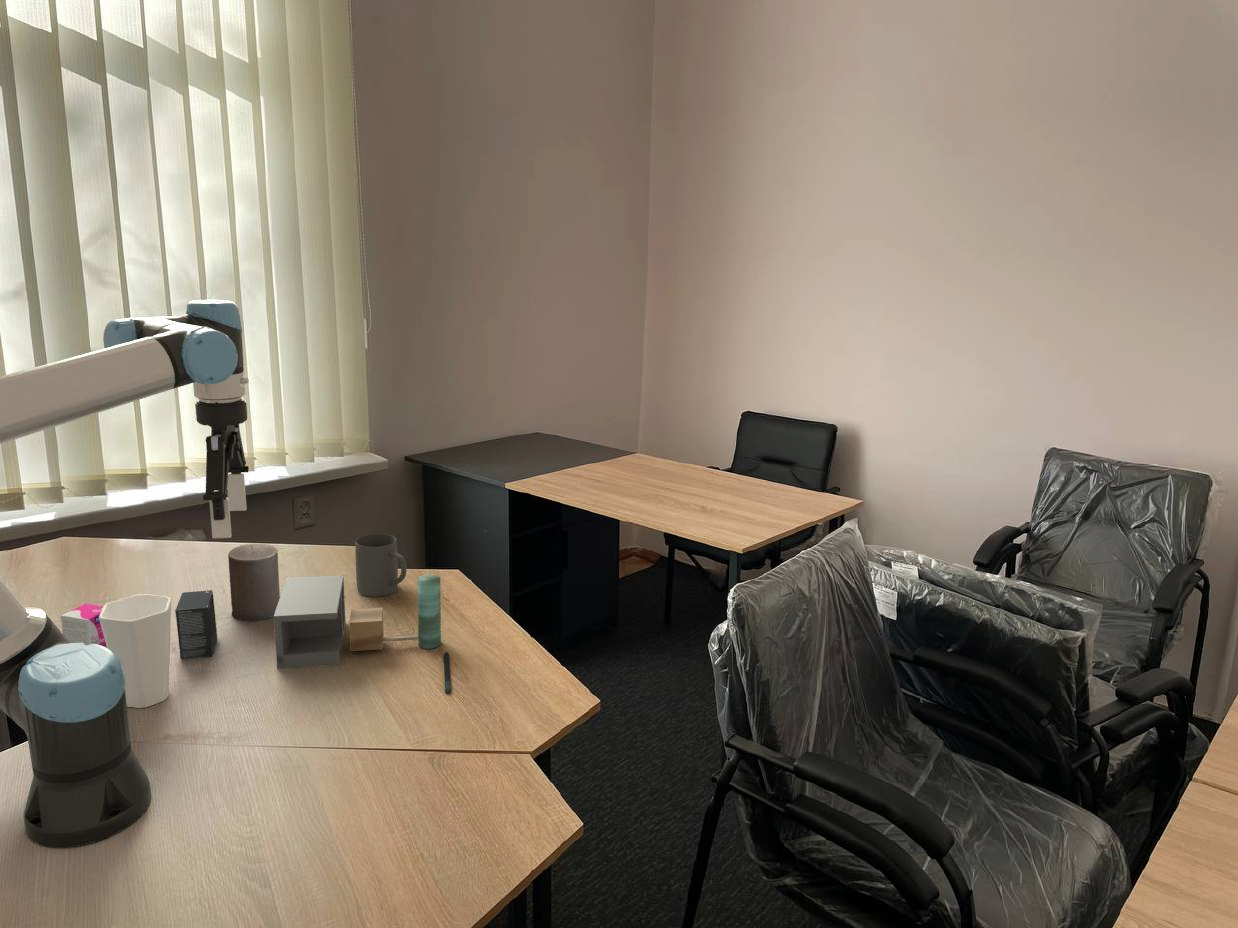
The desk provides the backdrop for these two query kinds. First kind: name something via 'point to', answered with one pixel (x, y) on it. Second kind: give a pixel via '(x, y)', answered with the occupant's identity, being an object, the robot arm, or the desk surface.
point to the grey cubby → (310, 622)
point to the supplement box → (83, 625)
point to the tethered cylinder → (370, 636)
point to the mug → (378, 565)
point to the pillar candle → (254, 581)
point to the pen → (447, 673)
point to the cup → (140, 645)
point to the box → (196, 624)
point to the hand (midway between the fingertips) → (230, 523)
